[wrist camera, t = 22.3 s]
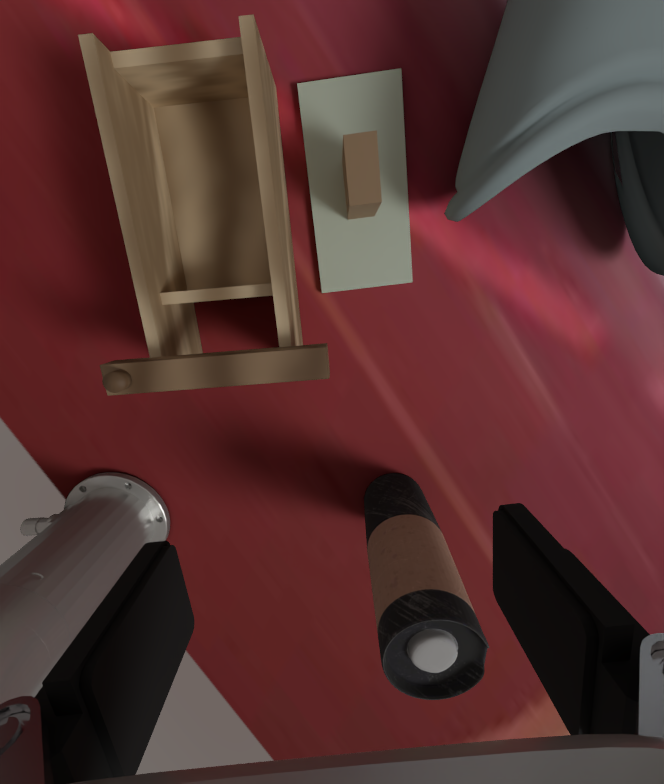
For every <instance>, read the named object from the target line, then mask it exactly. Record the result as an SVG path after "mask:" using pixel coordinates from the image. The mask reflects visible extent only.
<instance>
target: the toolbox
mask: <svg viewBox="0 0 664 784" xmlns="http://www.w3.org/2000/svg"><path fill="white" fill-rule="evenodd" d="M239 24H240V32H241V37H237V38H228V39H219V40H210V41H202V42H193V43H184V44H175V45H166V46H158V47H149V48H140V49H131V50H122V51H114V52H110V51H109V50H108V49H107V48H106V47H105V46H104V45H103V44H102V43H101V42H100V41H99V40H98V39H97V37H96V36H95V35H94V34H93V33H91V34H82V35H78V37H79V41H80V46H81V50H82V55H83V59H84V64H85V68H86V73H87V77H88V81H89V86H90V90H91V95H92V99H93V104H94V108H95V113H96V117H97V122H98V126H99V131H100V135H101V140H102V144H103V149H104V153H105V158H106V162H107V167H108V171H109V176H110V180H111V185H112V189H113V194H114V198H115V203H116V207H117V211H118V216H119V220H120V225H121V229H122V234H123V238H124V243H125V247H126V252H127V256H128V261H129V265H130V270H131V274H132V279H133V283H134V288H135V292H136V297H137V301H138V306H139V310H140V315H141V319H142V324H143V328H144V333H145V337H146V341H147V346H148V350H149V355H150V358H152V357H164V356H176V355H189V354H201V353H203V352H202V346H201V341H200V335H199V330H198V324H197V319H196V313H195V308H194V302H203V301H214V300H226V299H238V298H249V297H261V296H273V300H274V308H275V316H276V324H277V332H278V340H279V347H288V346H301V345H303V341H302V331H301V322H300V312H299V303H298V293H297V284H296V274H295V265H294V255H293V246H292V236H291V227H290V217H289V208H288V198H287V188H286V179H285V169H284V160H283V150H282V141H281V131H280V122H279V112H278V103H277V93H276V86H275V83H274V79H273V76H272V73H271V70H270V67H269V63H268V60H267V57H266V54H265V50H264V47H263V44H262V41H261V37H260V34H259V31H258V28H257V24H256V21H255V18H254V15H246V16H239Z"/></svg>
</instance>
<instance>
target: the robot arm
mask: <svg viewBox="0 0 664 784" xmlns="http://www.w3.org/2000/svg"><path fill="white" fill-rule="evenodd" d="M20 530H21V533H22V534H23V535H26V536H28V535H37V536H36V537H34V538H33V539H32V540H31V541H29V542H28V543H27V544H26V545H25V546H23V547H22V548H21V549H20V550H19V551H17V552H16V553H15V554H14V555H12V556H11V557H10V558H9V559H8V560H6V561H5V562H4V563H3V564H1V565H0V784H664V633H657V634H652V635H650V634H649V633H648V632H647V631H646V630H645V629H644V628H643V627H642V626H641V625H640V624H639V623H638V622H637V621H636V620H635V619H634V618H633V617H632V615H631V614H630V613H629V612H628V611H627V610H626V609H625V608H624V607H623V606H622V605H621V604H620V603H619V602H618V601H617V600H616V599H615V598H614V597H613V595H612V594H611V593H610V592H609V591H608V590H607V589H606V588H605V587H604V586H603V585H602V584H601V583H600V582H599V581H598V580H597V579H596V578H595V577H594V575H593V574H592V573H591V572H590V571H589V570H588V569H587V568H586V567H585V566H584V565H583V564H582V563H581V562H580V561H579V560H578V559H577V558H576V557H575V555H574V554H572V553H571V552H570V551H569V550H567V549H564V548H563V547H562V546H561V545H560V544H559V543H558V541H557V540H556V539H555V538H554V537H553V536H552V535H551V534H550V533H549V532H548V531H547V530H546V529H545V528H544V527H543V525H542V524H541V523H540V522H539V521H538V520H537V519H536V518H535V517H534V516H533V515H532V514H531V513H530V512H529V510H528V509H527V508H526V507H525V506H524V505H523V504H521V503H516V504H507V505H500V506H499V509H498V511H494V513H493V591H494V595H495V598H496V601H497V603H498V605H499V606H500V608H501V610H502V612H503V614H504V616H505V617H506V619H507V621H508V623H509V625H510V626H511V628H512V630H513V632H514V634H515V635H516V637H517V639H518V641H519V643H520V644H521V646H522V648H523V650H524V652H525V653H526V655H527V657H528V659H529V661H530V663H531V664H532V666H533V668H534V670H535V672H536V673H537V675H538V677H539V679H540V681H541V682H542V684H543V686H544V688H545V690H546V691H547V693H548V695H549V697H550V699H551V701H552V702H553V704H554V706H555V708H556V710H557V711H558V713H559V715H560V717H561V719H562V720H563V722H564V724H565V726H566V728H567V729H568V731H569V733H570V734H571V735H568V736H553V737H538V738H522V739H508V740H497V741H485V742H474V743H462V744H451V745H439V746H428V747H416V748H405V749H394V750H383V751H372V752H361V753H351V754H340V755H329V756H319V757H308V758H298V759H287V760H277V761H266V762H256V763H247V764H236V765H226V766H216V767H206V768H197V769H187V770H177V771H167V772H158V773H147V774H140V775H135V774H136V772H137V770H138V767H139V765H140V762H141V760H142V757H143V755H144V752H145V750H146V747H147V745H148V742H149V740H150V737H151V735H152V732H153V730H154V727H155V725H156V722H157V720H158V717H159V715H160V712H161V710H162V708H163V705H164V702H165V700H166V697H167V695H168V692H169V690H170V688H171V685H172V682H173V680H174V677H175V675H176V673H177V670H178V667H179V665H180V663H181V660H182V658H183V655H184V653H185V650H186V648H187V645H188V643H189V640H190V638H191V635H192V633H193V629H194V616H193V612H192V608H191V604H190V601H189V597H188V593H187V589H186V585H185V581H184V578H183V574H182V570H181V566H180V562H179V559H178V555H177V551H176V548H175V546H174V545H170V543H169V542H168V541H166V539H167V537H168V534H169V530H170V517H169V512H168V510H167V507H166V505H165V503H164V501H163V500H162V498H161V497H160V496H159V494H158V493H157V492H156V491H155V490H154V489H153V488H152V487H150V486H149V485H148V484H146V483H145V482H143V481H141V480H139V479H138V478H135V477H133V476H130V475H127V474H122V473H117V472H106V473H99V474H96V475H93V476H90V477H88V478H86V479H85V480H83V481H82V482H80V483H79V484H78V485H77V486H76V487H74V488H73V490H72V491H71V492H70V493H69V495H68V497H67V499H66V502H65V507H64V510H63V511H62V512H61V513H60V514H54V515H52V516H50V517H49V518H30V519H26V520H25V521H24V522H23V523H22V525H21V529H20Z"/></svg>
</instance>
